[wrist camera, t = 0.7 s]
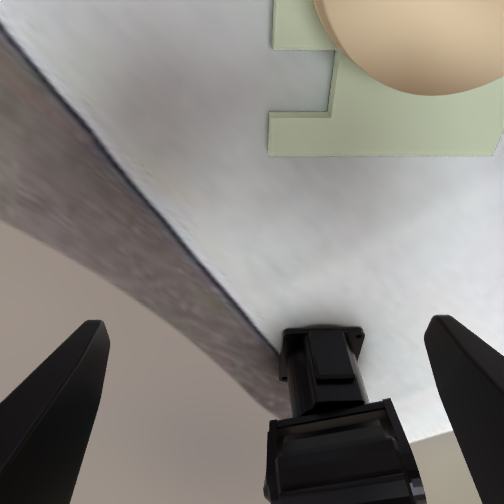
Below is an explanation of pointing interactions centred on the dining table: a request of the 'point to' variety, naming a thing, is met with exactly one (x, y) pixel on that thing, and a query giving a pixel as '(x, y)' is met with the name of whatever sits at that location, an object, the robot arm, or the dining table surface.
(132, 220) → the dining table surface
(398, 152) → the notched board
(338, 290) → the dining table surface
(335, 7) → the bobbin
